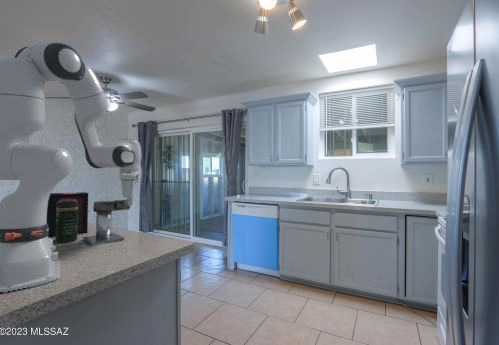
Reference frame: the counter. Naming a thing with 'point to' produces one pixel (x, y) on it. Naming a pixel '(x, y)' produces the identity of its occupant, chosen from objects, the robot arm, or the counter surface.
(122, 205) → the elbow
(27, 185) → the robot arm
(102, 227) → the silver pedestal stand
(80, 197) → the cleaning product box
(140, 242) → the counter surface
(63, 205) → the coffee jar
